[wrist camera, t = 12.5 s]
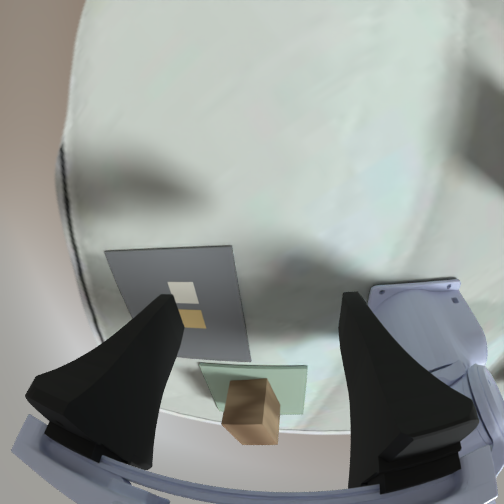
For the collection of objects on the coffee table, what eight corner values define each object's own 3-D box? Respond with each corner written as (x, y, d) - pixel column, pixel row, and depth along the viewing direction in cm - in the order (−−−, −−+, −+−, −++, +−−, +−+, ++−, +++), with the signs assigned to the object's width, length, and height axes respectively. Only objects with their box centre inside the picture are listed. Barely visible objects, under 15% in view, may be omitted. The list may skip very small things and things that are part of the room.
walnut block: (267, 378, 29) (262, 424, 24) (280, 404, 32) (277, 444, 27) (230, 380, 30) (221, 424, 25) (248, 406, 33) (242, 444, 28)
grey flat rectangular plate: (231, 245, 21) (231, 247, 21) (251, 360, 28) (250, 362, 28) (105, 251, 23) (103, 252, 22) (151, 352, 30) (150, 354, 29)
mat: (307, 365, 27) (307, 368, 27) (303, 412, 33) (303, 414, 33) (200, 362, 29) (199, 365, 29) (219, 408, 35) (219, 411, 35)
